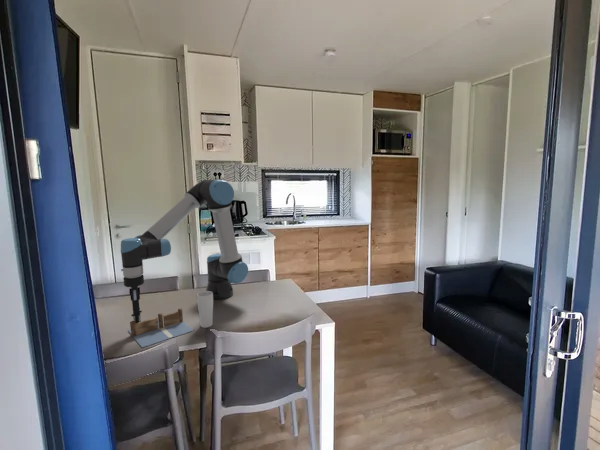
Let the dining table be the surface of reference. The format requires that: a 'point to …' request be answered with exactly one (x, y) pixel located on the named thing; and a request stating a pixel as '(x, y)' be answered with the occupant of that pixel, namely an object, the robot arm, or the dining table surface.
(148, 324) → the fence panel
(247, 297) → the dining table surface
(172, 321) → the fence fixed
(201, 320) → the drinking glass
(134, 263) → the robot arm
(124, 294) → the dining table surface
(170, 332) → the mat
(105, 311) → the dining table surface
